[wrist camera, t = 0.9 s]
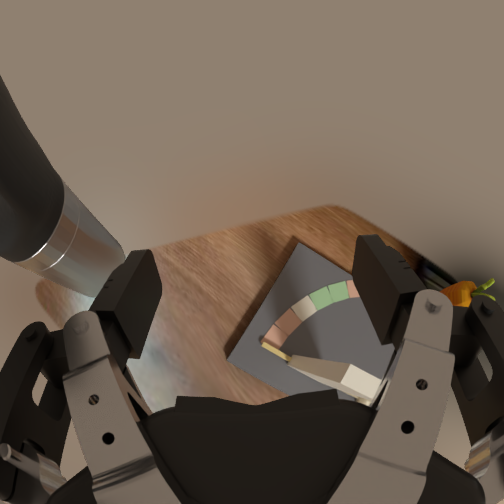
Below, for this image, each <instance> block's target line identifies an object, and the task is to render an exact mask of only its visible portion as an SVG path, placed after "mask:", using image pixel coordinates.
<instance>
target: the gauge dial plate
mask: <svg viewBox="0 0 504 504" xmlns="http://www.w3.org/2000/svg"><path fill="white" fill-rule="evenodd" d="M263 342H265V343H267V344H269V345H271V346H272V347H274V348H276V349H277V350H279V351H281V352H283V353H284V354H286V355H288V356H290V357H292V355H299V356H304V357H310V358H316V359H322V360H328V361H334V362H341V363H348V364H352V365H354V366H356V367H358V368H359V369H361V370H363V371H365V372H367V373H369V374H371V375H373V376H375V377H376V378H378V379H380V380H382V377H383V375H384V373H385V370H386V368H387V365H388V363H389V360H390V357H391V355H392V352H393V350H394V346H393V343H392V344H387V345H382V346H381V343H380V341H379V339H378V336H377V334H376V332H375V329H374V327H373V325H372V322H371V320H370V318H369V316H368V313H367V311H366V309H365V307H364V304H363V302H362V300H361V298H360V296H359V294H358V292H357V289H356V287H355V285H354V283H353V277H352V276H351V275H350V274H348V273H347V272H345V271H344V270H342V269H341V268H339V267H337V266H336V265H334V264H333V263H331V262H330V261H328V260H326V259H325V258H323V257H322V256H320V255H319V254H317V253H315V252H314V251H312V250H311V249H309V248H307V247H306V246H304V245H303V244H301V243H298V244H297V246H296V247H295V249H294V251H293V252H292V254H291V256H290V257H289V259H288V261H287V262H286V264H285V266H284V268H283V269H282V271H281V273H280V274H279V276H278V278H277V279H276V281H275V283H274V284H273V286H272V288H271V289H270V291H269V293H268V294H267V296H266V297H265V299H264V301H263V302H262V304H261V306H260V307H259V309H258V310H257V312H256V314H255V315H254V317H253V319H252V320H251V322H250V323H249V325H248V327H247V328H246V330H245V331H244V333H243V335H242V336H241V338H240V339H239V341H238V342H237V344H236V346H235V347H234V349H233V350H232V352H231V353H230V355H229V356H228V358H227V361H228V362H230V363H232V364H233V365H235V366H237V367H238V368H240V369H242V370H244V371H245V372H247V373H249V374H251V375H252V376H254V377H256V378H258V379H259V380H261V381H263V382H265V383H267V384H269V385H270V386H272V387H274V388H276V389H278V390H280V391H282V392H284V393H286V394H288V395H290V396H291V395H295V394H298V393H306V392H315V391H322V390H329V389H336V388H333V387H330V386H328V385H325V384H323V383H320V382H318V381H316V380H314V379H312V378H310V377H308V376H306V375H305V374H303V373H301V372H299V371H297V370H295V369H293V368H292V367H290V366H288V365H287V363H288V361H286V360H285V359H283V358H281V357H279V356H278V355H276V354H274V353H272V352H271V351H269V350H267V349H265V348H264V347H262V346H261V345H262V343H263ZM337 393H338V397H339V399H346V400H352V401H355V402H356V398H355V397H353V396H351V395H348V394H346V393H344V392H342V391H340V390H338V389H337Z"/></svg>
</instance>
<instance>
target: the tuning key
mask: <svg viewBox="0 0 504 504" xmlns="http://www.w3.org/2000/svg"><path fill="white" fill-rule="evenodd" d="M261 346H262V347H264V348H265V349H267V350H269V351H271V352H272V353H274V354H276V355H278V356H279V357H281V358H283V359H285V360H286V361H288V363H287V365H288V366H290V367H292V368H293V369H295V370H297V371H299V372H301V373H303V374H305V375H306V376H308V377H310V378H312V379H314V380H316V381H318V382H320V383H323V384H325V385H328V386H330V387H333V388H336V389H338V390H340V391H342V392H344V393H346V394H348V395H351V396H353V397H355V398H356V402H359V403H362V404H365V405H367V406H369V405H370V403H371V401H372V399H373V398H374V396H375V393H376V391H377V389H378V387H379V385H380V382H381V380H380V379H378V378H376V377H375V376H373V375H371V374H369V373H367V372H365V371H363V370H361V369H359V368H358V367H356V366H354V365H352V364H348V363H341V362H334V361H328V360H322V359H316V358H310V357H304V356H299V355H292V357H290V356H288V355H286V354H284V353H283V352H281V351H279V350H277V349H276V348H274V347H272V346H271V345H269V344H267V343H265V342H263V343H262V345H261Z"/></svg>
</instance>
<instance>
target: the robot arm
mask: <svg viewBox="0 0 504 504" xmlns="http://www.w3.org/2000/svg"><path fill="white" fill-rule="evenodd" d="M0 256H1V257H3V258H5V259H6V260H8V261H11V262H13V263H15V264H17V265H19V266H21V267H23V268H25V269H27V270H29V271H31V272H33V273H36V274H37V275H40V276H42V277H44V278H46V279H48V280H50V281H53V282H55V283H57V284H60V285H62V286H64V287H66V288H69V289H71V290H73V291H76V292H78V293H81V294H83V295H86V296H89V297H96V298H95V300H94V302H93V303H92V305H91V307H90V309H89V310H88V311H82V312H79V313H77V314H75V315H74V316H72V317H71V318H70V319H69V320H68V321H67V322H66V324H65V326H64V328H63V329H62V330H57V331H54V332H50V331H49V330H48V328H47V327H46V325H45V324H44V323H43V322H34V323H32V324H30V325H28V326H27V327H26V328H25V329H24V330H23V331H22V332H21V334H20V336H19V337H18V339H17V341H16V343H15V345H14V347H13V348H12V350H11V352H10V354H9V356H8V358H7V360H6V362H5V364H4V366H3V368H2V370H1V372H0V501H3V502H5V503H7V504H497V503H498V502H499V501H501V500H502V499H504V312H503V310H502V309H501V308H500V306H499V305H498V304H497V303H496V301H494V300H493V299H492V298H490V297H488V296H485V295H476V296H474V297H473V298H472V300H471V303H470V305H469V307H463V306H453V305H452V303H451V301H450V300H449V299H448V297H446V296H445V295H444V294H442V293H440V292H438V291H435V290H430V289H427V288H426V287H425V286H424V284H423V283H422V281H421V280H420V279H419V277H418V276H417V275H416V273H415V272H414V271H413V269H411V267H410V265H409V264H408V263H407V262H406V260H405V259H404V258H403V256H402V255H401V254H400V253H399V252H398V251H396V250H395V249H393V248H392V247H390V246H386V245H385V243H384V242H383V241H382V240H381V238H380V237H379V236H378V235H377V234H373V235H359V236H358V237H357V240H356V247H355V255H354V262H353V268H352V277H353V283H354V285H355V287H356V289H357V292H358V294H359V296H360V298H361V300H362V302H363V304H364V307H365V309H366V311H367V313H368V316H369V318H370V320H371V322H372V325H373V327H374V329H375V332H376V334H377V336H378V339H379V341H380V343H381V346H382V345H387V344H392V343H393V346H394V350H393V352H392V355H391V357H390V360H389V363H388V365H387V368H386V370H385V373H384V375H383V377H382V380H381V382H380V385H379V387H378V389H377V391H376V393H375V396H374V398H373V399H372V401H371V403H370V405H369V406H367V405H365V404H362V403H359V402H355V401H352V400H346V399H339V397H338V393H337V389H329V390H322V391H315V392H306V393H298V394H295V395H291V396H288V397H285V398H282V399H279V400H275V401H272V402H269V403H265V404H261V405H248V404H243V403H238V402H233V401H229V400H224V399H220V398H215V397H188V396H177V399H176V404H175V407H170V408H166V409H163V410H160V411H158V412H155V413H152V412H151V410H150V409H149V407H148V405H147V404H146V402H145V400H144V398H143V396H142V394H141V392H140V390H139V388H138V386H137V384H136V382H135V380H134V378H133V376H132V374H131V372H130V370H129V368H128V366H127V365H126V363H127V360H128V358H134V359H140V356H141V353H142V350H143V347H144V344H145V341H146V338H147V335H148V332H149V329H150V326H151V324H152V321H153V318H154V315H155V312H156V310H157V307H158V304H159V301H160V299H161V296H162V283H161V279H160V276H159V273H158V270H157V266H156V263H155V260H154V256H153V253H152V251H151V250H149V249H147V250H135V251H131V252H130V254H129V255H128V257H127V258H126V260H125V256H124V252H123V249H122V247H121V245H120V244H119V243H118V242H117V241H116V240H115V239H114V237H113V236H112V235H111V234H110V233H109V232H108V231H107V230H106V229H105V228H104V227H103V225H101V223H100V222H99V221H98V220H97V219H96V218H95V217H94V216H93V215H92V213H91V212H90V211H89V210H88V209H87V208H86V207H85V206H84V205H83V203H82V202H81V201H80V200H79V199H78V198H77V196H76V195H75V194H74V193H73V192H72V191H71V189H70V188H69V187H68V186H67V185H66V184H65V182H64V181H63V180H62V179H61V177H60V176H59V175H58V174H57V172H56V171H55V170H54V168H53V167H52V165H51V164H50V162H49V160H48V159H47V157H46V155H45V154H44V152H43V150H42V149H41V147H40V145H39V144H38V142H37V141H36V140H35V138H34V137H33V135H32V134H31V132H30V130H29V129H28V128H27V126H26V124H25V122H24V120H23V119H22V118H21V115H20V113H19V111H18V109H17V108H16V106H15V104H14V102H13V100H12V98H11V96H10V93H9V91H8V89H7V87H6V86H5V84H4V82H3V80H2V78H1V76H0ZM482 349H483V350H484V352H485V354H486V356H487V358H488V360H489V362H490V364H491V366H492V369H493V375H492V379H491V381H490V382H489V381H488V379H487V376H486V374H485V372H484V370H483V368H482V366H481V364H480V362H479V360H478V355H479V354H480V352H481V351H482ZM40 372H41V373H42V374H43V375H44V377H45V378H46V379H47V380H48V381H47V384H46V387H45V389H44V392H43V394H42V397H41V400H40V403H39V406H37V405H36V404H35V403H34V401H33V398H32V390H33V387H34V385H35V382H36V380H37V377H38V375H39V373H40ZM450 385H451V387H452V389H453V391H454V394H455V397H456V400H457V403H458V405H459V408H460V411H461V414H462V417H463V420H464V423H465V426H466V430H467V433H468V436H469V440H470V443H471V447H472V448H471V451H470V454H469V458H468V459H467V460H466V462H465V470H466V471H465V470H464V469H462V468H460V467H459V466H457V465H455V464H453V463H452V462H451V461H449V460H448V459H446V458H444V457H443V456H442V455H440V454H438V453H437V452H435V451H434V450H433V448H434V446H435V443H436V440H437V436H438V433H439V430H440V427H441V423H442V419H443V416H444V411H445V407H446V403H447V399H448V395H449V390H450ZM71 418H72V420H73V424H74V428H75V431H76V434H77V437H78V440H79V443H80V446H81V449H82V452H83V454H84V457H85V460H86V462H87V465H88V466H86V467H85V468H84V469H83V470H81V471H80V472H79V473H78V474H76V475H75V476H74V477H73V478H71V479H70V480H69V481H67V480H66V478H65V477H63V476H62V475H61V471H60V463H61V458H62V453H63V449H64V444H65V440H66V436H67V432H68V429H69V425H70V421H71ZM468 472H469V473H468Z"/></svg>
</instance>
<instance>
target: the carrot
mask: <svg viewBox="0 0 504 504" xmlns="http://www.w3.org/2000/svg"><path fill="white" fill-rule="evenodd" d="M493 283H494V279H493V278H491V279H490V280H489V281H488V282H487V283H485V284H483V285H481V286H479V287H478V288H477V287H476V286H475V284H474V283H473V282H470V281H462V282H459V283H456V284H454V285H452V286H449V287H447V288H445V289H443V290H442V291H440V293H442V294H444V295H445V296H446V297H448V299H449V300H450V301H451V303H452V305H453V306H463V307H469V305H470V303H471V300H472V298H473V297H474V296H476V295H485V296H488V297H490V298H492V299H493V300H494V301H495V298H494V297H493V296H491V295H488V294H485V293H480V292H481V291H483V290H486V288H488V287H489V286H490V285H492V284H493Z"/></svg>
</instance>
